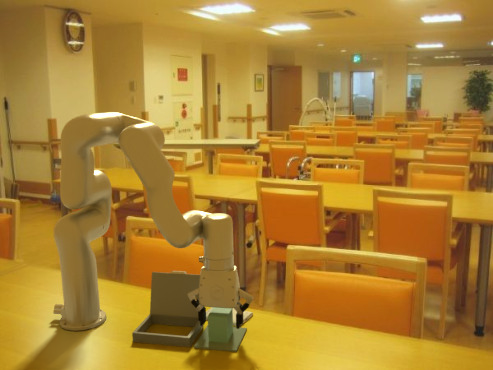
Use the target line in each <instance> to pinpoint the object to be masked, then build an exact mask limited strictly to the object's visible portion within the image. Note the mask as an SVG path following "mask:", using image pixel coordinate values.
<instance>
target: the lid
mask: <svg viewBox="0 0 493 370" xmlns="http://www.w3.org/2000/svg"><path fill="white" fill-rule="evenodd" d="M199 281H200V274H197V273H196V274H193V273H187V271H184V270H183V271H182V270H171V271H170V272H163V271H162V272H160V271H159V272H158V271H152V272H151V282H150V283H151V285H150V304H149V305H150V308H149V314H159V315H172V316H184V317H197V318H198V311H197V310H196V308H195V307H194V306H193V305H192V303H191V300H190V299H189V297H188V295H187V294H188V293H189V292H190V291H192V290H194V289H196V288H198V287H199ZM195 297H196V298H197V299H198V300H199V294H197V295H195ZM201 298H202V297H201Z"/></svg>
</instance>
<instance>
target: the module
mask: <svg viewBox="0 0 493 370" xmlns="http://www.w3.org/2000/svg"><path fill="white" fill-rule="evenodd" d="M207 325H208V336H209V342H220V343H228V341H229V339H230V337H231V336H232V334H233V327H234V325H233V308H216V307H213V309H212V310H211V312H210V313H209V315H208V320H207Z"/></svg>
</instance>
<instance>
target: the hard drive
mask: <svg viewBox="0 0 493 370" xmlns="http://www.w3.org/2000/svg"><path fill="white" fill-rule="evenodd" d="M212 309H213V307H209V309H207V310H206V321H208V315H209V313H210V312H211V310H212ZM236 314H237V311H236V310H235V309H234V308H233V327H236ZM253 315H254V312H252V311H248V310H245V311H244V312H243V324H245V322H247V321H248V320H249V319H250V318H251V317H253ZM243 324H241V326H242V325H243Z"/></svg>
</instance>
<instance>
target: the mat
mask: <svg viewBox="0 0 493 370" xmlns="http://www.w3.org/2000/svg"><path fill="white" fill-rule="evenodd" d="M247 331H248V329H247V327H240V328H239V329H237V328H236V326H233V334H232V336H231V337H230V339H229V341H228V343H220V342H209V336H208V324H207V325H206V327H205V329H204V330H203V331H202V333H201V334H200V336H199V338H198V339H197V341H196V343H195V344H194V345H193V348H194V349H201V350H202V349H203V350H214V351H224V352H233V353H234V352H235V353H237V352H238V350H239V347H240V346H241V343H242V341H243V339H244V337H245V334H246V333H247Z"/></svg>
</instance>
